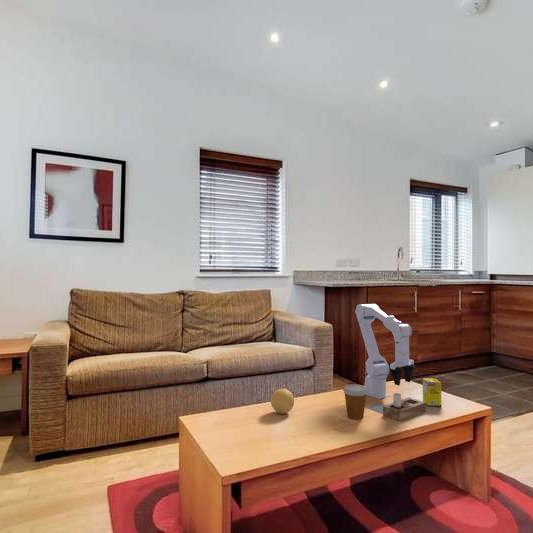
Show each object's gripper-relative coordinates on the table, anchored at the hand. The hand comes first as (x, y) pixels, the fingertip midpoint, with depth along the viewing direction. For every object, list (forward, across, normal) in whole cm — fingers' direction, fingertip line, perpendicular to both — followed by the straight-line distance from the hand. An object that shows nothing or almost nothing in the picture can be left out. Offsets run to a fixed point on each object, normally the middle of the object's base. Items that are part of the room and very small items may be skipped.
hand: (402, 383), depth 163 cm
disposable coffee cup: (+11, -25, +5) cm, 28 cm away
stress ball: (+11, -46, +26) cm, 54 cm away
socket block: (+10, -6, -5) cm, 13 cm away
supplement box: (+11, +13, -6) cm, 18 cm away
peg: (+10, -11, -5) cm, 16 cm away
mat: (+10, -9, +4) cm, 14 cm away
